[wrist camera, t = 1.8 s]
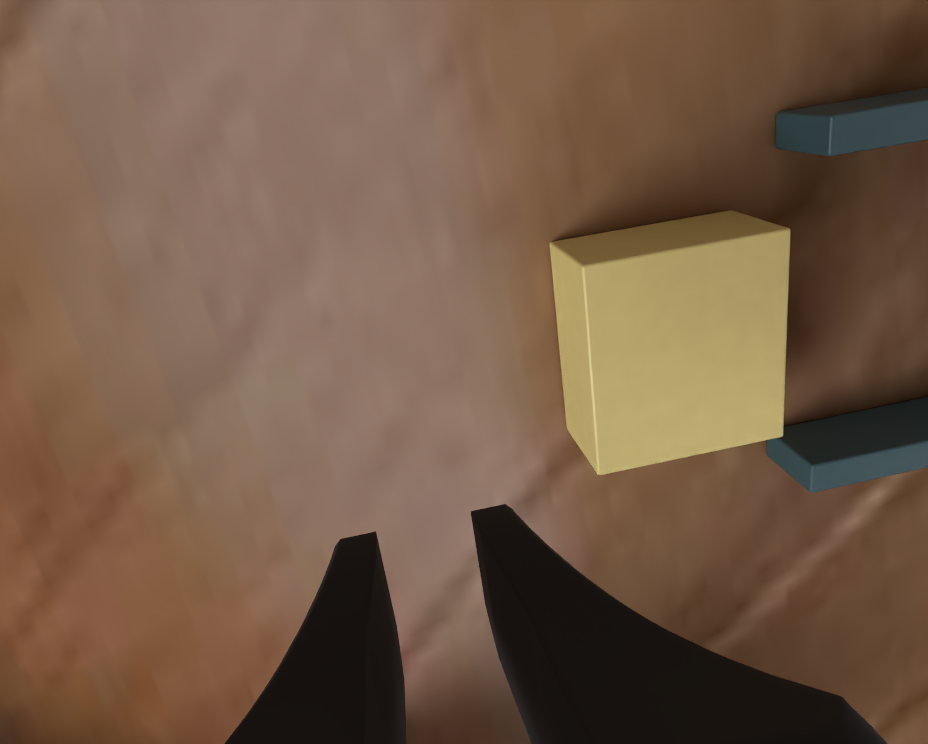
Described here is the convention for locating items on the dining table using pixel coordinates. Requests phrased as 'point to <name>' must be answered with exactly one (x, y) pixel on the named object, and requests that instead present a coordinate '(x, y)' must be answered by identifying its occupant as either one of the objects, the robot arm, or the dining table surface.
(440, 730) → the dining table surface
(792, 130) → the bay
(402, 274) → the dining table surface
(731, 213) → the block
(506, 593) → the robot arm
